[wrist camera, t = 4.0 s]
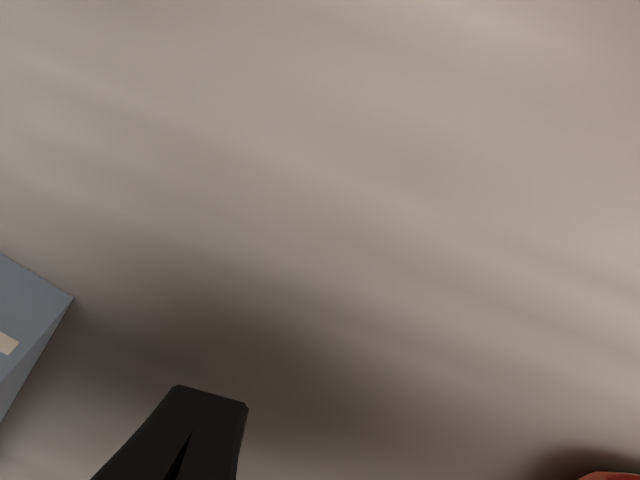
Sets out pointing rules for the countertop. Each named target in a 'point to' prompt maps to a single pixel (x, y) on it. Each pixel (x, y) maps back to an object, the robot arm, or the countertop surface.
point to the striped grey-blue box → (24, 324)
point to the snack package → (610, 476)
